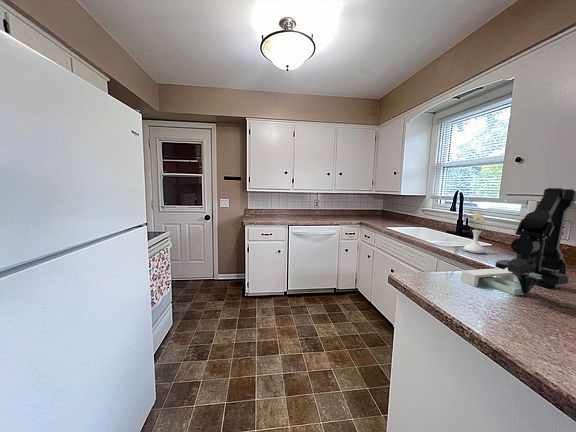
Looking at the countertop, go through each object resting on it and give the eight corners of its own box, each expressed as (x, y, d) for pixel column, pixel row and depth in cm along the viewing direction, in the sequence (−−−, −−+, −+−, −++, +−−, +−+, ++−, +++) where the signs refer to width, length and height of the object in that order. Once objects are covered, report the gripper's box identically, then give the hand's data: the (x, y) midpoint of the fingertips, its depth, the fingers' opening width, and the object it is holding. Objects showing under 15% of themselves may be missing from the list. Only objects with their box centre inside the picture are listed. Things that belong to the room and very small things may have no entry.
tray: (496, 282, 103) (497, 277, 103) (528, 293, 93) (529, 287, 92) (482, 283, 101) (483, 278, 100) (513, 295, 90) (514, 289, 90)
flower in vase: (489, 255, 149) (495, 214, 146) (467, 253, 152) (472, 213, 149) (479, 250, 161) (484, 212, 159) (459, 248, 165) (463, 211, 162)
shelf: (499, 278, 109) (500, 268, 108) (513, 283, 103) (515, 272, 103) (460, 281, 103) (462, 270, 102) (473, 286, 97) (475, 275, 97)
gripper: (487, 246, 95) (482, 285, 97) (550, 260, 77) (542, 307, 79) (508, 245, 98) (502, 283, 100) (572, 259, 81) (564, 304, 82)
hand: (525, 293), depth 90 cm, fingers closed
